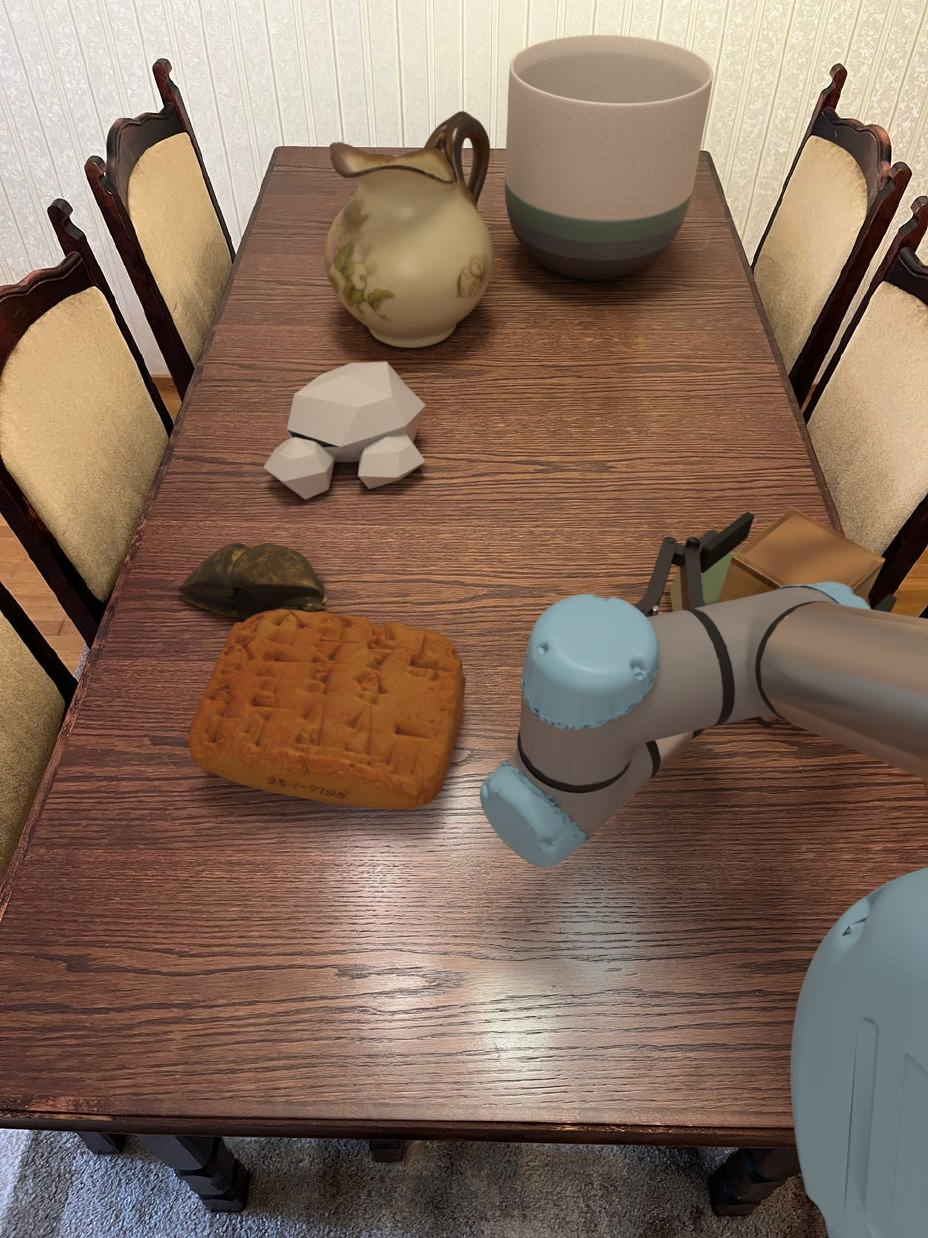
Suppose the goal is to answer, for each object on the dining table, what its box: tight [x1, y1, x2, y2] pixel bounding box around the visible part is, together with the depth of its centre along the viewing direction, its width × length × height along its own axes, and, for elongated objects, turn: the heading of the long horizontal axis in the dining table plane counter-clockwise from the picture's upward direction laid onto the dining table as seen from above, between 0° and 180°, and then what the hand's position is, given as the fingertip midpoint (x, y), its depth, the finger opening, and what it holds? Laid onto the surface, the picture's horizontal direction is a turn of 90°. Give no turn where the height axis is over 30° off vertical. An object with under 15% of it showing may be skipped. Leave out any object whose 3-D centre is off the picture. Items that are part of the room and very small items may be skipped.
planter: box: [504, 34, 714, 281], centre depth 129 cm, size 27×27×27 cm
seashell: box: [179, 542, 328, 620], centre depth 90 cm, size 16×9×7 cm, turn 75°
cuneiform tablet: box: [187, 609, 466, 810], centre depth 78 cm, size 22×17×8 cm
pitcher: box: [323, 110, 495, 349], centre depth 118 cm, size 22×24×25 cm
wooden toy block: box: [718, 506, 886, 603], centre depth 78 cm, size 9×9×9 cm
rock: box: [263, 361, 427, 500], centre depth 104 cm, size 18×20×10 cm
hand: (814, 564), depth 77 cm, fingers open, 13 cm apart
